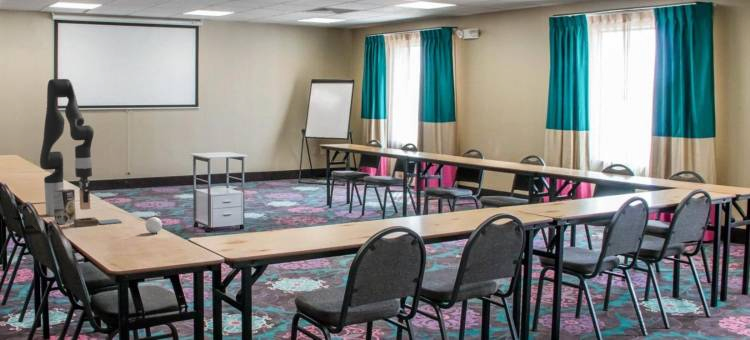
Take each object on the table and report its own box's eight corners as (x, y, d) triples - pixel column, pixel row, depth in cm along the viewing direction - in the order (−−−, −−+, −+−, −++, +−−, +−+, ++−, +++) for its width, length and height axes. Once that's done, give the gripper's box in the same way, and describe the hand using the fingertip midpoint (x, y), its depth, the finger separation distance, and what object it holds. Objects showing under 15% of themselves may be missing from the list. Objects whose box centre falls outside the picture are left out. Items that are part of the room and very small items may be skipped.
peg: (80, 208, 389) (79, 190, 388) (88, 207, 391) (87, 189, 390) (81, 209, 385) (80, 191, 384) (90, 209, 387) (89, 190, 386)
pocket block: (73, 224, 390) (73, 219, 390) (94, 222, 395) (93, 217, 395) (77, 226, 382) (77, 221, 382) (98, 225, 387) (98, 219, 387)
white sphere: (165, 232, 365) (165, 217, 364) (151, 235, 359) (150, 219, 359) (153, 230, 372) (153, 214, 371) (139, 232, 366) (139, 216, 365)
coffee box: (66, 224, 390) (64, 191, 389) (54, 223, 392) (52, 191, 390) (76, 221, 399) (75, 189, 397) (64, 220, 400) (63, 188, 399)
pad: (96, 221, 396) (96, 220, 396) (117, 220, 401) (117, 218, 401) (101, 224, 387) (100, 223, 387) (122, 222, 393) (121, 221, 392)
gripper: (72, 165, 390) (74, 200, 392) (78, 168, 378) (79, 204, 380) (88, 165, 394) (89, 199, 396) (94, 167, 382) (96, 203, 383)
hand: (84, 201), depth 388 cm, fingers closed on peg, 4 cm apart
